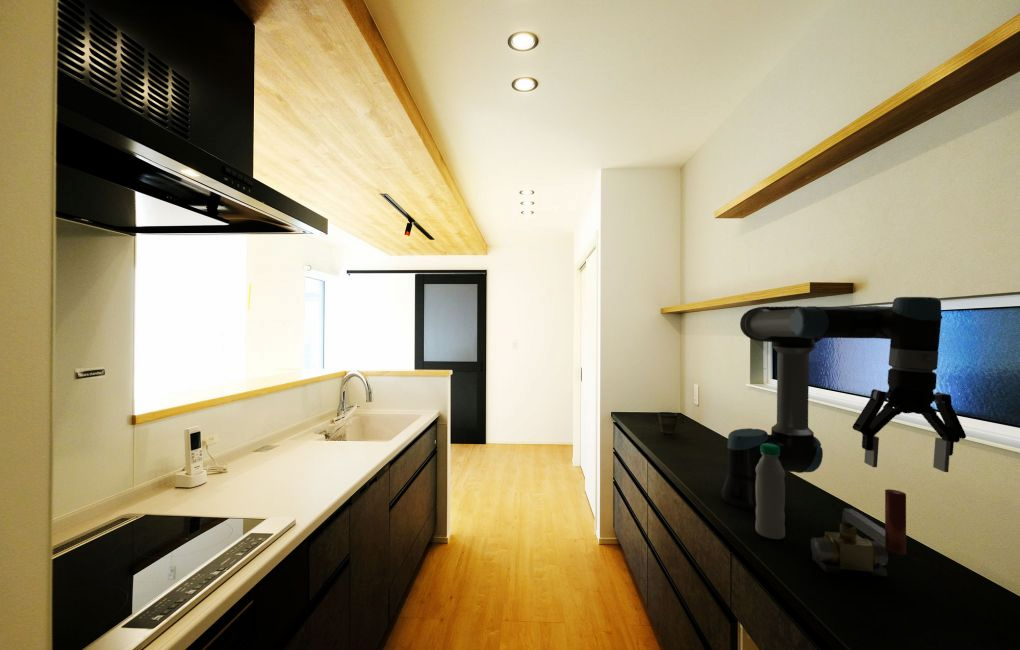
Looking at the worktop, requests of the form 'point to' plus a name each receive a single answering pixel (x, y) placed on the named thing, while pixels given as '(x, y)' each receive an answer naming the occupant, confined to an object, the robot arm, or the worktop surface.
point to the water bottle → (770, 493)
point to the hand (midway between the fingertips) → (905, 467)
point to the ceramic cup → (668, 421)
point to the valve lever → (894, 523)
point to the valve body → (849, 552)
